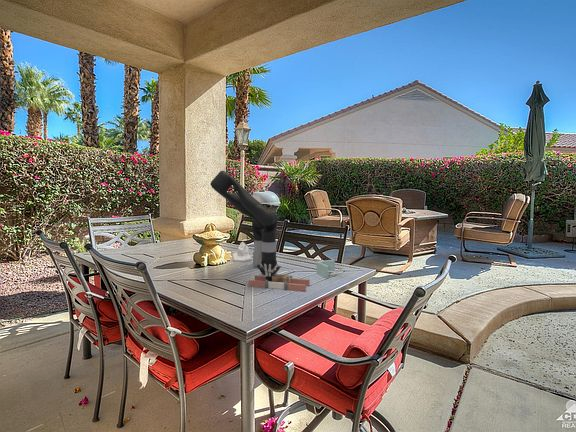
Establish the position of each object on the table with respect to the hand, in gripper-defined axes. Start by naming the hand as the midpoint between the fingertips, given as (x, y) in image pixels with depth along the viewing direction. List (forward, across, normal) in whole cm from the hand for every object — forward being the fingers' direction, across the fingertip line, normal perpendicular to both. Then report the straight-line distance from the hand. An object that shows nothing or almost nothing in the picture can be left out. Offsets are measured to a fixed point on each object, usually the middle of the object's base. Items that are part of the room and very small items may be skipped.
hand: (268, 282), depth 159 cm
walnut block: (+1, +6, 0) cm, 6 cm away
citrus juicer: (+1, -35, +45) cm, 57 cm away
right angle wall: (+2, +28, +27) cm, 39 cm away
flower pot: (+1, -6, +16) cm, 17 cm away
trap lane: (+1, +6, 0) cm, 6 cm away
